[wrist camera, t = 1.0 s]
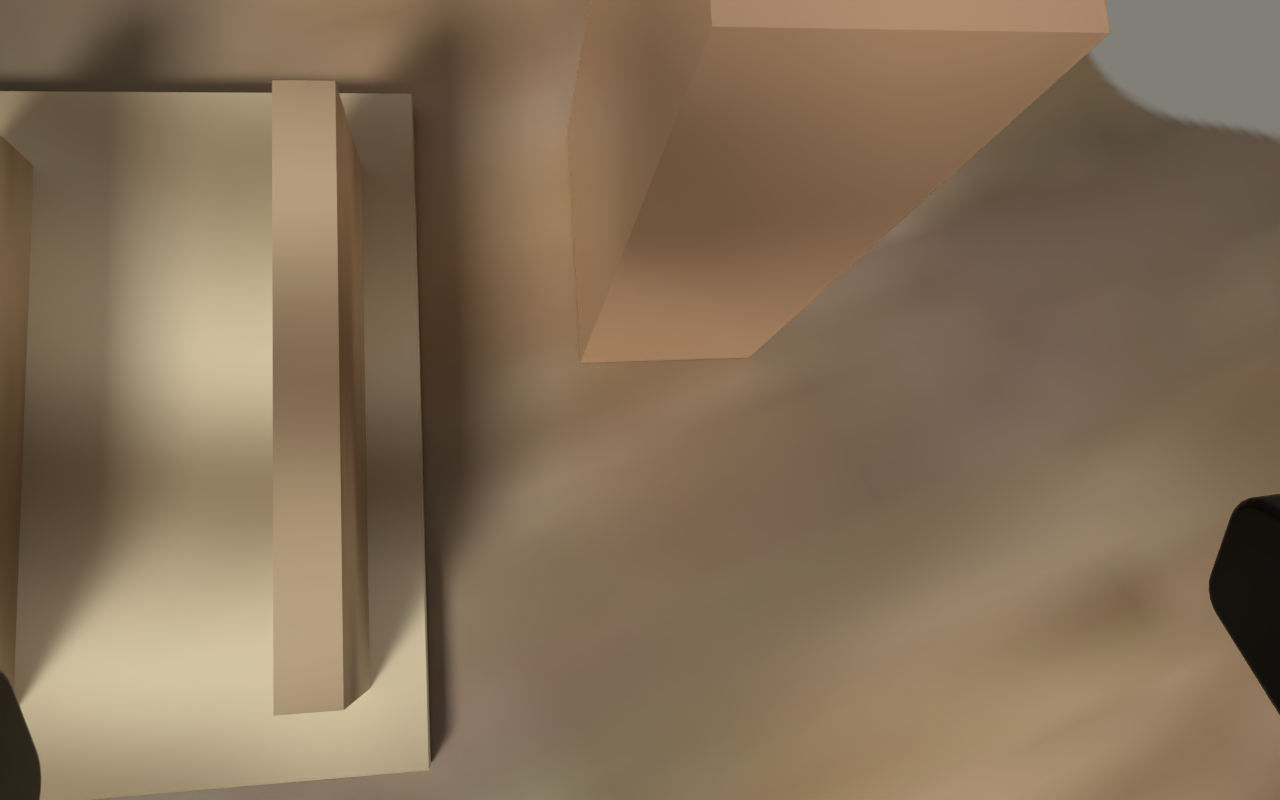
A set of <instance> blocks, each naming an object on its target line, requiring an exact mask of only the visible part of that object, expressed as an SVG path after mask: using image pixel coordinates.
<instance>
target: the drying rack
mask: <svg viewBox="0 0 1280 800" xmlns="http://www.w3.org/2000/svg"><path fill="white" fill-rule="evenodd" d="M0 669H1V670H2V671H3V672H4V673H5V674H6V675H7V677H8V679H9V680H10V682H11V684H12V687H13V690H14V692H15V695H16V697H17V700H18V703H19V705H20V708H21V711H22V713H23V716H24V718H25V721H26V724H27V726H28V729H29V732H30V734H31V737H32V739H33V742H34V745H35V747H36V750H37V753H38V756H39V760H40V766H41V793H40V800H89V799H101V798H112V797H124V796H135V795H147V794H158V793H170V792H182V791H193V790H205V789H216V788H228V787H239V786H251V785H262V784H274V783H285V782H297V781H309V780H320V779H332V778H343V777H355V776H366V775H378V774H389V773H401V772H412V771H424V770H429V768H430V765H431V755H430V718H429V680H428V642H427V605H426V567H425V530H424V492H423V454H422V417H421V379H420V342H419V304H418V266H417V229H416V191H415V154H414V116H413V102H412V96H411V94H383V93H339V91H338V88H337V85H336V81H310V80H272V93H222V92H61V91H0Z"/></svg>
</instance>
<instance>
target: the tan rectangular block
mask: <svg viewBox="0 0 1280 800" xmlns="http://www.w3.org/2000/svg"><path fill="white" fill-rule="evenodd" d="M1109 33H1110V29H1109V22H1108V16H1107V9H1106V2H1105V0H589V6H588V12H587V18H586V24H585V30H584V36H583V42H582V48H581V54H580V60H579V66H578V72H577V78H576V84H575V91H574V97H573V103H572V109H571V115H570V121H569V127H568V141H569V160H570V178H571V197H572V216H573V235H574V254H575V273H576V292H577V311H578V330H579V349H580V363H590V362H622V361H654V360H685V359H717V358H749V357H750V356H751V355H752V354H753V353H755V352H756V351H757V350H758V349H759V348H760V347H761V346H762V345H763V344H765V343H766V342H767V341H768V340H769V339H770V338H771V337H772V336H773V335H775V334H776V333H777V332H778V331H779V330H780V329H781V328H782V327H783V326H785V325H786V324H787V323H788V322H789V321H790V320H791V319H792V318H793V317H795V316H796V315H797V314H798V313H799V312H800V311H801V310H802V309H803V308H805V307H806V306H807V305H808V304H809V303H810V302H811V301H812V300H813V299H815V298H816V297H817V296H818V295H819V294H820V293H821V292H822V291H824V290H825V289H826V288H827V287H828V286H829V285H830V284H831V283H832V282H834V281H835V280H836V279H837V278H838V277H839V276H840V275H841V274H842V273H844V272H845V271H846V270H847V269H848V268H849V267H850V266H851V265H852V264H854V263H855V262H856V261H857V260H858V259H859V258H860V257H861V256H862V255H864V254H865V253H866V252H867V251H868V250H869V249H870V248H871V247H872V246H874V245H875V244H876V243H877V242H878V241H879V240H880V239H881V238H882V237H884V236H885V235H886V234H887V233H888V232H889V231H890V230H891V229H893V228H894V227H895V226H896V225H897V224H898V223H899V222H900V221H901V220H903V219H904V218H905V217H906V216H907V215H908V214H909V213H910V212H911V211H913V210H914V209H915V208H916V207H917V206H918V205H919V204H920V203H921V202H923V201H924V200H925V199H926V198H927V197H928V196H929V195H930V194H931V193H933V192H934V191H935V190H936V189H937V188H938V187H939V186H940V185H941V184H943V183H944V182H945V181H946V180H947V179H948V178H949V177H950V176H951V175H953V174H954V173H955V172H956V171H957V170H958V169H959V168H960V167H961V166H963V165H964V164H965V163H966V162H967V161H968V160H969V159H970V158H972V157H973V156H974V155H975V154H976V153H977V152H978V151H979V150H980V149H982V148H983V147H984V146H985V145H986V144H987V143H988V142H989V141H990V140H992V139H993V138H994V137H995V136H996V135H997V134H998V133H999V132H1000V131H1002V130H1003V129H1004V128H1005V127H1006V126H1007V125H1008V124H1009V123H1010V122H1012V121H1013V120H1014V119H1015V118H1016V117H1017V116H1018V115H1019V114H1020V113H1022V112H1023V111H1024V110H1025V109H1026V108H1027V107H1028V106H1029V105H1030V104H1032V103H1033V102H1034V101H1035V100H1036V99H1037V98H1038V97H1039V96H1041V95H1042V94H1043V93H1044V92H1045V91H1046V90H1047V89H1048V88H1049V87H1051V86H1052V85H1053V84H1054V83H1055V82H1056V81H1057V80H1058V79H1059V78H1061V77H1062V76H1063V75H1064V74H1065V73H1066V72H1067V71H1068V70H1069V69H1071V68H1072V67H1073V66H1074V65H1075V64H1076V63H1077V62H1078V61H1079V60H1081V59H1082V58H1083V57H1084V56H1085V55H1086V54H1087V53H1088V52H1089V51H1091V50H1092V49H1093V48H1094V47H1095V46H1096V45H1097V44H1098V43H1099V42H1100V41H1102V40H1103V39H1104V38H1105V37H1106V36H1107V35H1108V34H1109Z"/></svg>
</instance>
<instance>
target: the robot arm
mask: <svg viewBox="0 0 1280 800" xmlns="http://www.w3.org/2000/svg"><path fill="white" fill-rule="evenodd" d="M1209 594H1210V600H1211V603H1212V606H1213V608H1214V610H1215V612H1216V614H1217V616H1218V617H1219V619H1220V620H1221V622H1222V624H1223V625H1224V627H1225V628H1226V630H1227V632H1228V633H1229V635H1230V636H1231V638H1232V640H1233V641H1234V643H1235V644H1236V646H1237V648H1238V649H1239V651H1240V652H1241V654H1242V656H1243V657H1244V659H1245V660H1246V662H1247V664H1248V665H1249V667H1250V668H1251V670H1252V672H1253V673H1254V675H1255V676H1256V678H1257V680H1258V681H1259V683H1260V684H1261V686H1262V688H1263V689H1264V691H1265V692H1266V694H1267V696H1268V697H1269V699H1270V700H1271V702H1272V704H1273V705H1274V707H1275V708H1276V710H1277V712H1278V713H1279V715H1280V494H1275V495H1268V496H1260V497H1253V498H1249V499H1246V500H1244V501H1242V502H1241V503H1240V504H1239V505H1238V506H1237V507H1236V508H1235V509H1234V511H1233V513H1232V515H1231V517H1230V520H1229V523H1228V526H1227V529H1226V532H1225V535H1224V537H1223V540H1222V543H1221V546H1220V549H1219V552H1218V555H1217V558H1216V561H1215V564H1214V567H1213V570H1212V572H1211V575H1210V580H1209ZM40 793H41V766H40V760H39V756H38V753H37V750H36V747H35V745H34V742H33V739H32V737H31V734H30V732H29V729H28V726H27V724H26V721H25V718H24V716H23V713H22V711H21V708H20V705H19V703H18V700H17V697H16V695H15V692H14V690H13V687H12V684H11V682H10V680H9V679H8V677H7V675H6V674H5V673H4V672H3V671H2V670H1V669H0V800H40Z"/></svg>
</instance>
